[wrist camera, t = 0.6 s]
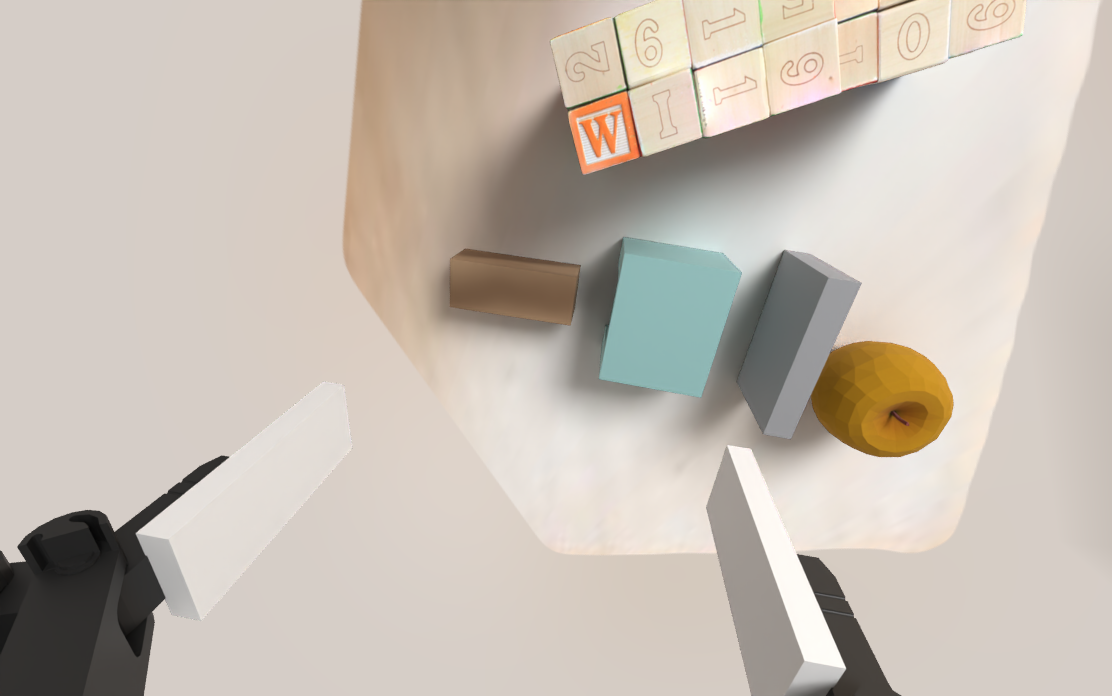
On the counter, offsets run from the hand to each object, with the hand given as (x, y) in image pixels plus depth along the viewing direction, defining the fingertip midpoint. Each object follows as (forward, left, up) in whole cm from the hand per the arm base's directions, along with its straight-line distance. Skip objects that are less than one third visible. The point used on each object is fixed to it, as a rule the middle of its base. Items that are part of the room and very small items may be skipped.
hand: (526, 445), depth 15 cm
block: (+2, +7, -24) cm, 25 cm away
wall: (+2, +16, -24) cm, 29 cm away
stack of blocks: (-15, +8, -25) cm, 30 cm away
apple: (+5, +24, -25) cm, 35 cm away
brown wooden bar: (+2, -5, -25) cm, 25 cm away
